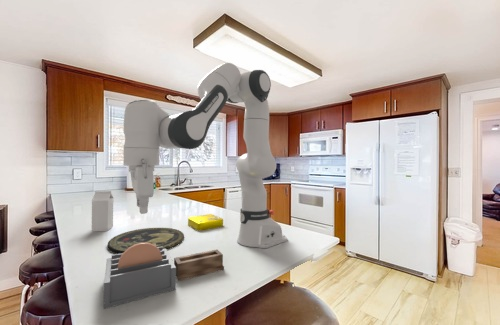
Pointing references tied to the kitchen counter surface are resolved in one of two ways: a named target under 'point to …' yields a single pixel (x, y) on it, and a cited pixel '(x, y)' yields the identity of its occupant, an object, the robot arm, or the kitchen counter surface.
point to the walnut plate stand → (198, 264)
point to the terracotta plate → (139, 255)
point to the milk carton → (102, 211)
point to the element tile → (205, 222)
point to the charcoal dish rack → (138, 279)
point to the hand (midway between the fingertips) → (141, 209)
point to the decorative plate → (146, 239)
